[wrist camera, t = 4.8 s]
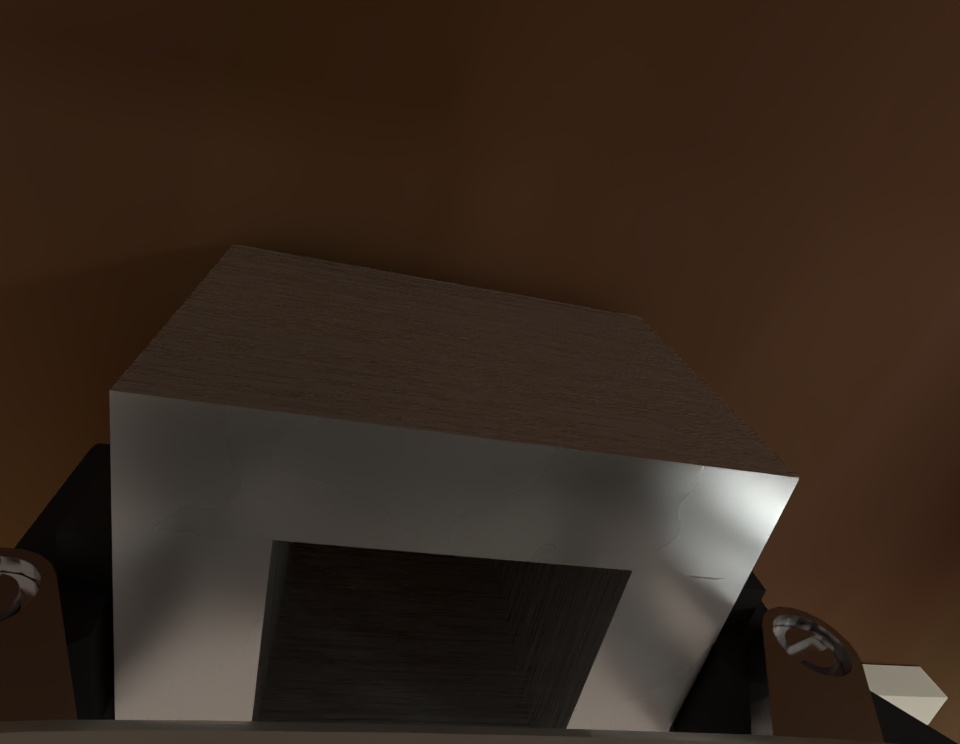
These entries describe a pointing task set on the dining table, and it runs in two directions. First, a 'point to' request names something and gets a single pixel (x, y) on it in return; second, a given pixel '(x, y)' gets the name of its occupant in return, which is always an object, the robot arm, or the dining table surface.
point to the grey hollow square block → (421, 507)
